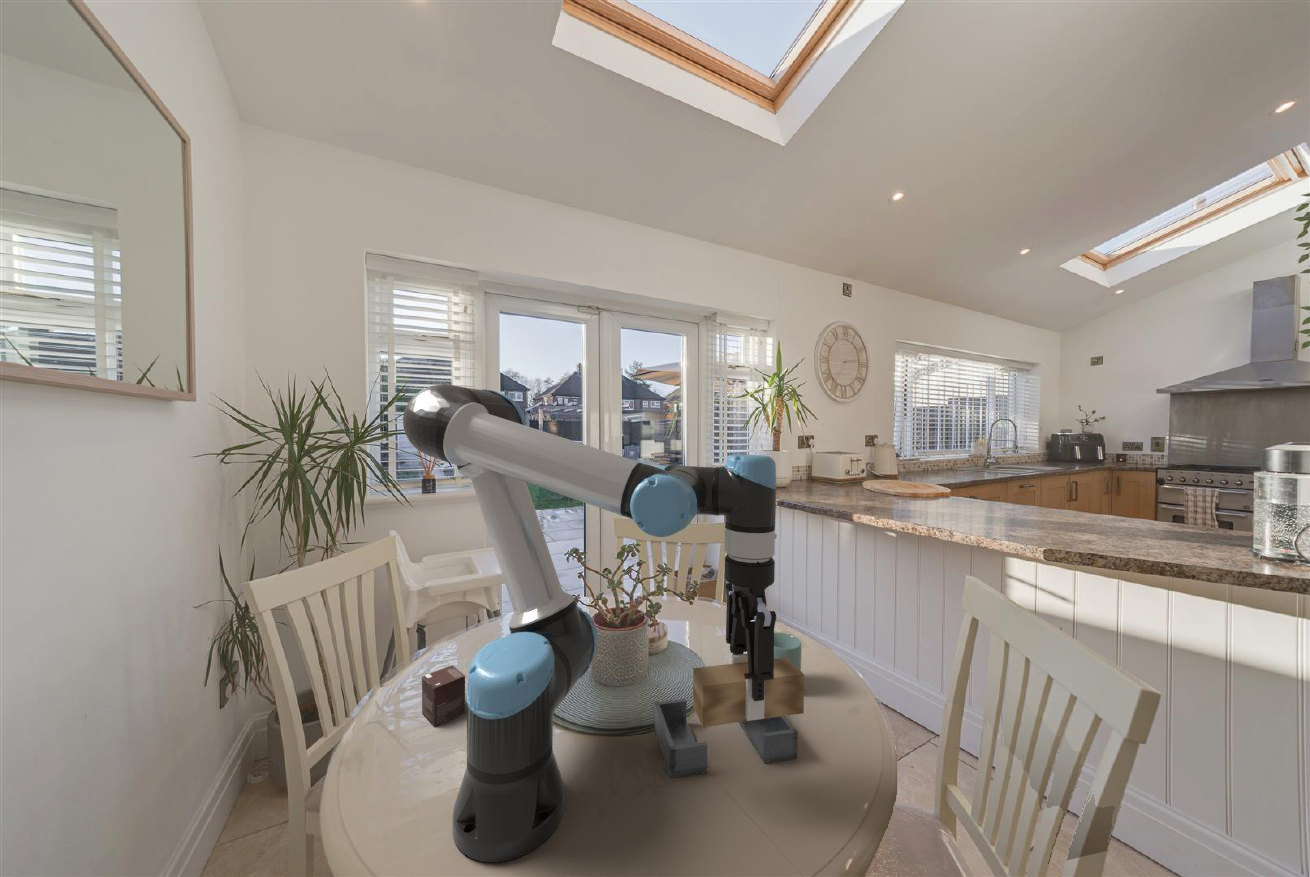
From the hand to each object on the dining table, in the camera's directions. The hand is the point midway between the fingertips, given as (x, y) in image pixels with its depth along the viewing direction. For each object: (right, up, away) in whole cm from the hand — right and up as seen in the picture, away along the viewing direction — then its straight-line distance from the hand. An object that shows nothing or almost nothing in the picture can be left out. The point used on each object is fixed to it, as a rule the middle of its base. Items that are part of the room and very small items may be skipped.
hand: (746, 706), depth 69 cm
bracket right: (+6, -13, +12) cm, 18 cm away
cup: (+13, -13, +28) cm, 34 cm away
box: (-55, -12, +17) cm, 59 cm away
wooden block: (0, -1, 0) cm, 1 cm away
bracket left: (-10, -12, +9) cm, 18 cm away
